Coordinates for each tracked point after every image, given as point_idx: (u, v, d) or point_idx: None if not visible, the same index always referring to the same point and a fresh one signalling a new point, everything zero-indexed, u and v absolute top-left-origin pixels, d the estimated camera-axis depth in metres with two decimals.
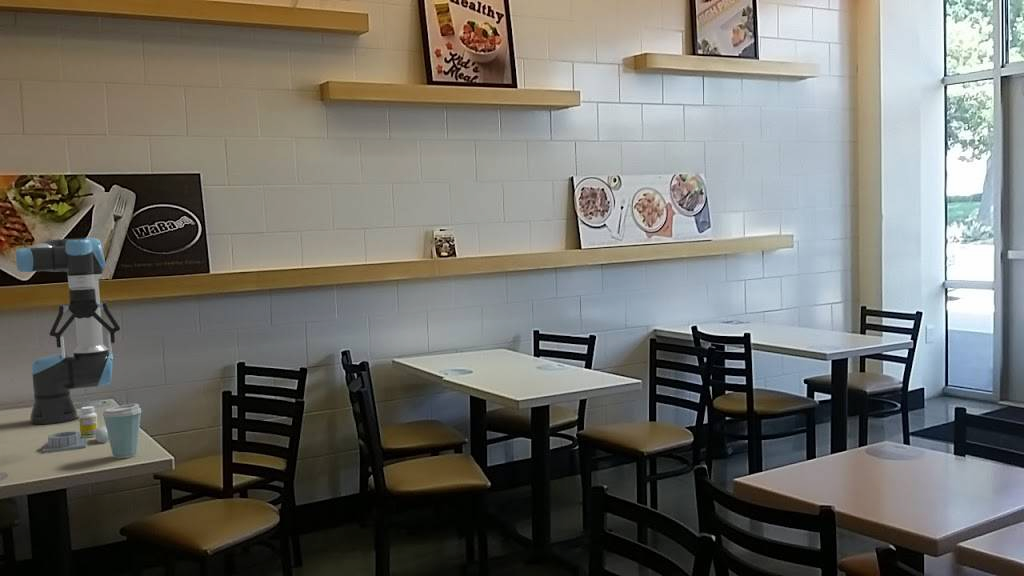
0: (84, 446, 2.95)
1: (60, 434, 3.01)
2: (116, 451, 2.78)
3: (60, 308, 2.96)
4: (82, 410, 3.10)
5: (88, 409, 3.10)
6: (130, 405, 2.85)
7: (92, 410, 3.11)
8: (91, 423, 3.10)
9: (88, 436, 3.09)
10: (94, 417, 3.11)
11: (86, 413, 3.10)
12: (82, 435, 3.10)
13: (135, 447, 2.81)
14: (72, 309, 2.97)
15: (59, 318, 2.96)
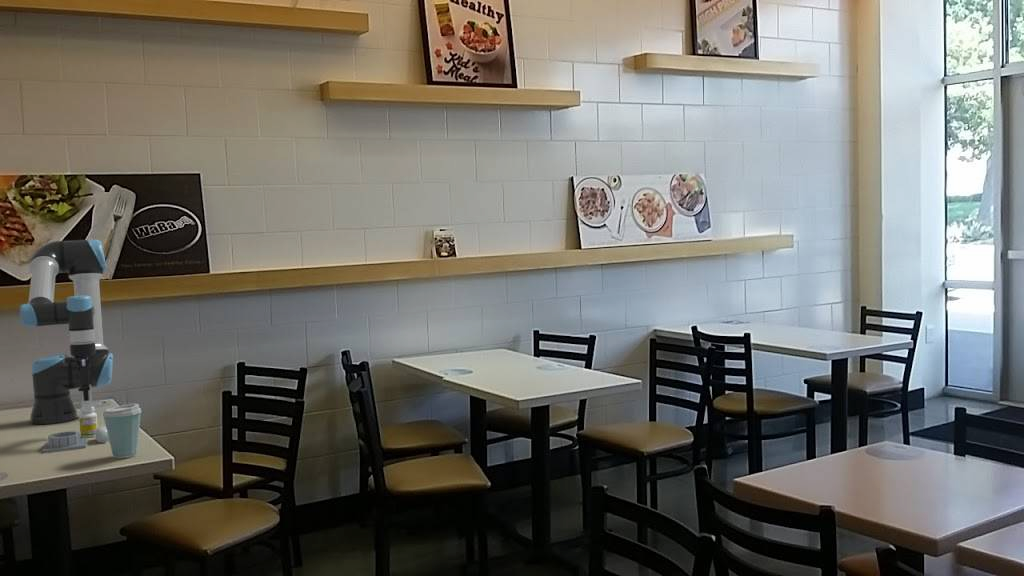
0: (84, 446, 2.95)
1: (60, 434, 3.01)
2: (116, 451, 2.78)
3: None
4: None
5: None
6: (130, 405, 2.85)
7: (92, 410, 3.11)
8: (91, 423, 3.10)
9: (88, 436, 3.09)
10: (94, 417, 3.11)
11: (86, 413, 3.10)
12: (82, 435, 3.10)
13: (135, 447, 2.81)
14: None
15: None
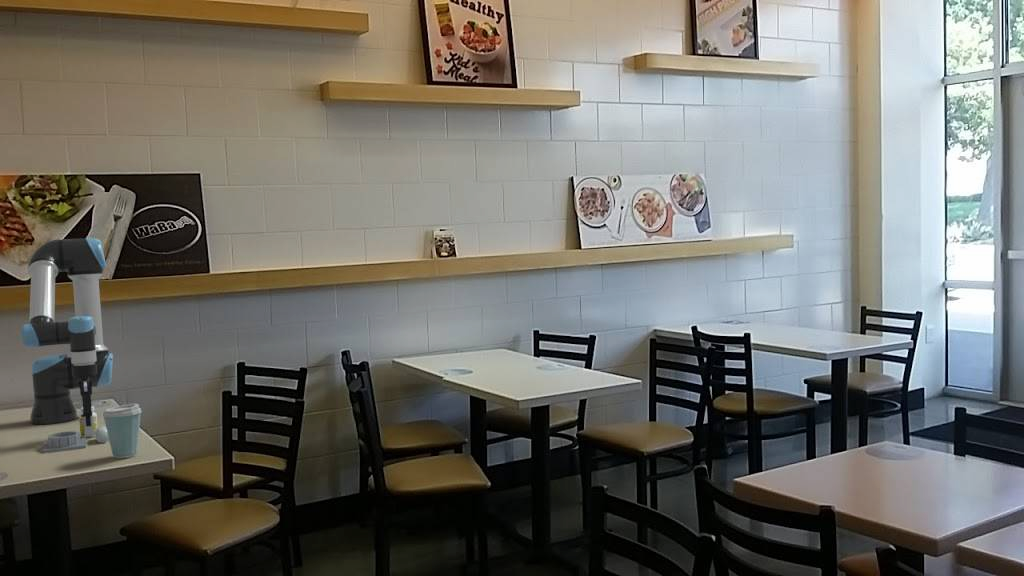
0: (84, 446, 2.95)
1: (60, 434, 3.01)
2: (116, 451, 2.78)
3: None
4: (82, 410, 3.10)
5: None
6: (130, 405, 2.85)
7: (92, 410, 3.11)
8: None
9: (88, 436, 3.09)
10: (94, 417, 3.11)
11: None
12: (82, 435, 3.10)
13: (135, 447, 2.81)
14: None
15: None
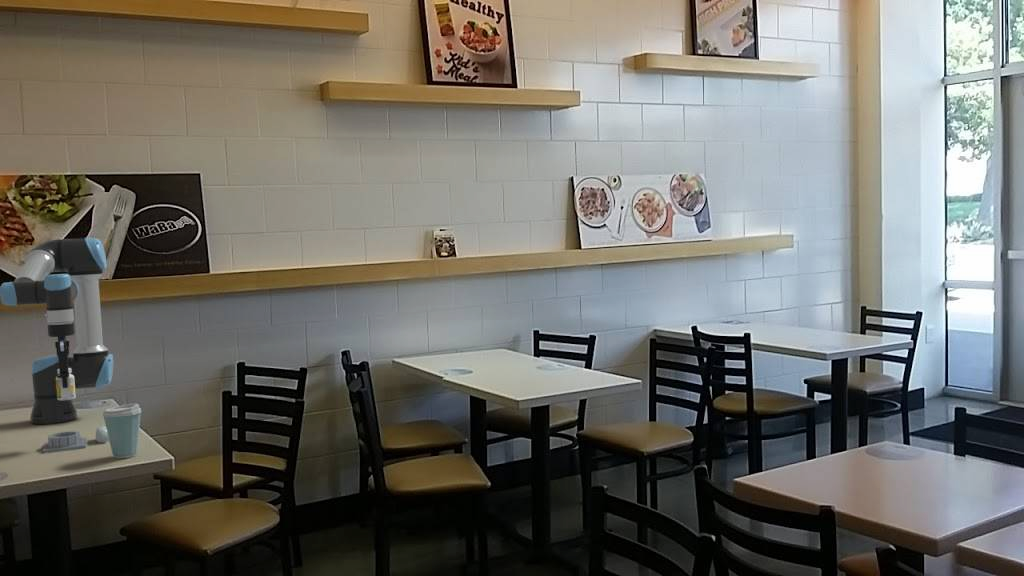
0: (84, 446, 2.95)
1: (60, 434, 3.01)
2: (116, 451, 2.78)
3: None
4: (59, 371, 2.97)
5: None
6: (130, 405, 2.85)
7: (69, 371, 2.98)
8: None
9: (65, 398, 2.97)
10: (71, 379, 2.98)
11: None
12: (59, 397, 2.97)
13: (135, 447, 2.81)
14: None
15: None
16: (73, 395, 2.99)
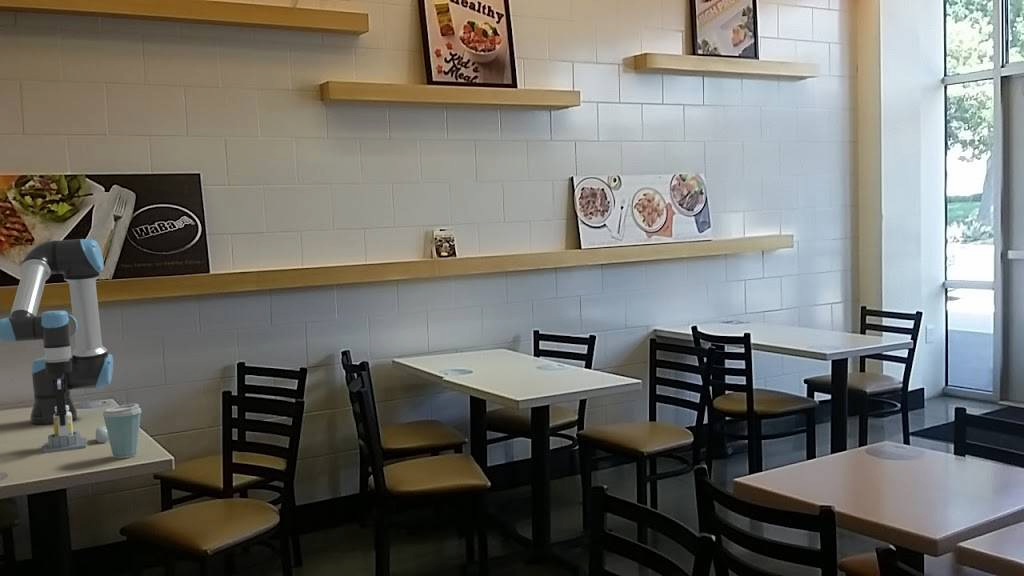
0: (84, 446, 2.95)
1: None
2: (116, 451, 2.78)
3: None
4: (56, 409, 2.96)
5: None
6: (130, 405, 2.85)
7: (67, 409, 2.97)
8: None
9: (62, 436, 2.95)
10: (69, 416, 2.97)
11: None
12: (56, 435, 2.96)
13: (135, 447, 2.81)
14: None
15: None
16: (71, 433, 2.97)
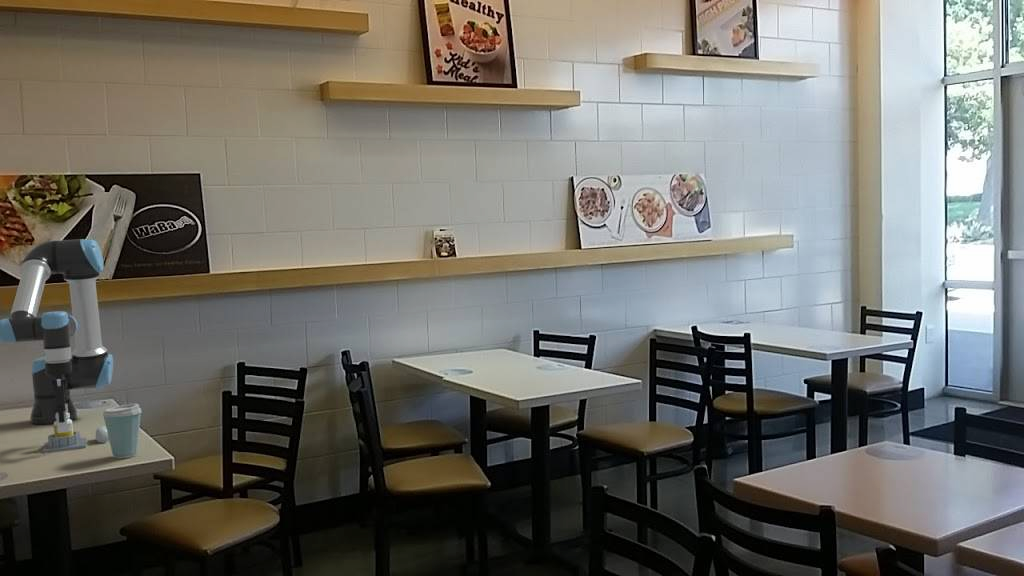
0: (84, 446, 2.95)
1: None
2: (116, 451, 2.78)
3: None
4: None
5: None
6: (130, 405, 2.85)
7: (67, 417, 2.97)
8: None
9: None
10: (69, 424, 2.97)
11: None
12: None
13: (135, 447, 2.81)
14: None
15: None
16: None
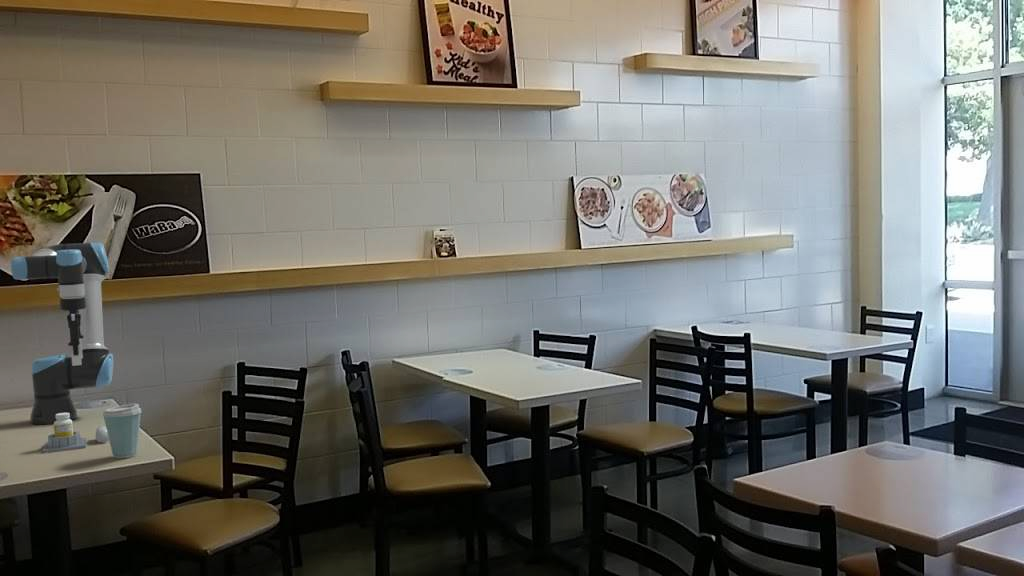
0: (84, 446, 2.95)
1: None
2: (116, 451, 2.78)
3: None
4: (57, 417, 2.96)
5: (63, 416, 2.96)
6: (130, 405, 2.85)
7: (67, 417, 2.97)
8: (66, 431, 2.96)
9: None
10: (69, 424, 2.97)
11: (61, 420, 2.96)
12: None
13: (135, 447, 2.81)
14: None
15: None
16: None
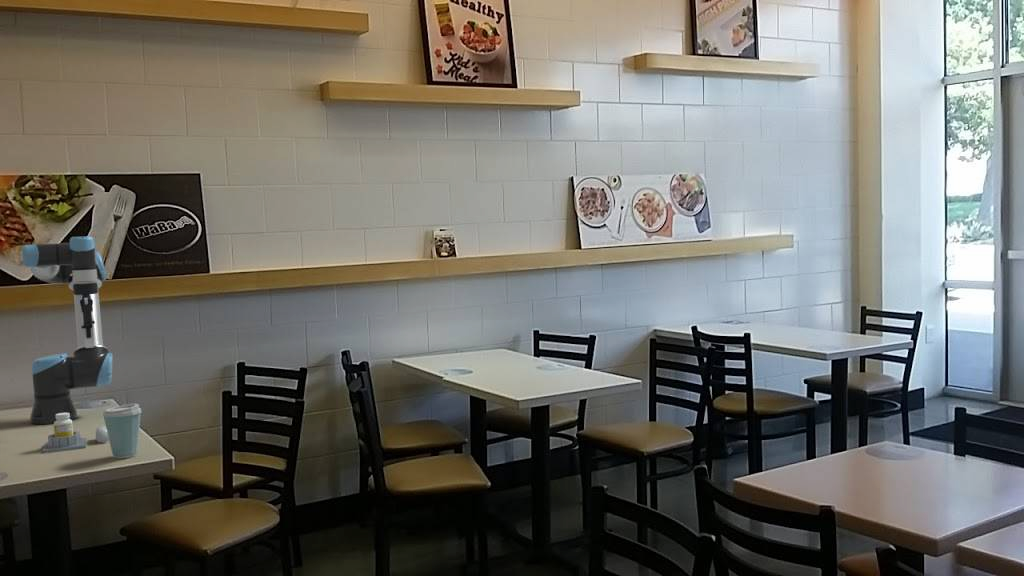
0: (84, 446, 2.95)
1: None
2: (116, 451, 2.78)
3: None
4: (57, 417, 2.96)
5: (63, 416, 2.96)
6: (130, 405, 2.85)
7: (67, 417, 2.97)
8: (66, 431, 2.96)
9: None
10: (69, 424, 2.97)
11: (61, 420, 2.96)
12: None
13: (135, 447, 2.81)
14: None
15: None
16: None
